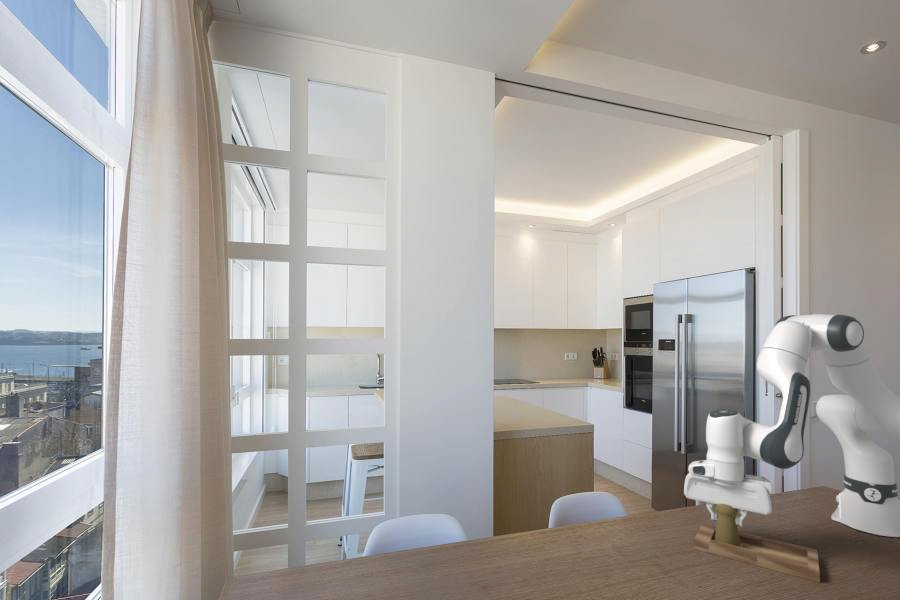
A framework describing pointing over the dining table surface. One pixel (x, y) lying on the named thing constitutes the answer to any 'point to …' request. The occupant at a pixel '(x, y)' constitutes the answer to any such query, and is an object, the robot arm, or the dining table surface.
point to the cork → (726, 525)
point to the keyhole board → (762, 553)
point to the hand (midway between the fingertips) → (726, 522)
